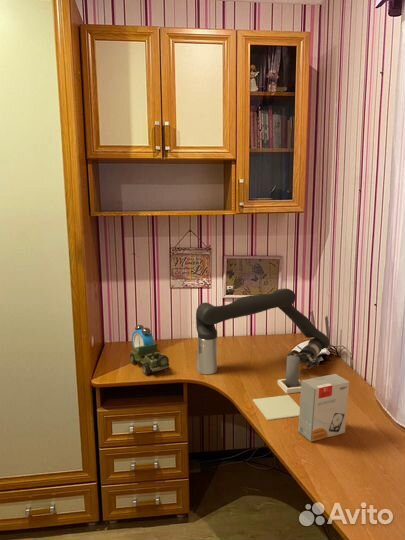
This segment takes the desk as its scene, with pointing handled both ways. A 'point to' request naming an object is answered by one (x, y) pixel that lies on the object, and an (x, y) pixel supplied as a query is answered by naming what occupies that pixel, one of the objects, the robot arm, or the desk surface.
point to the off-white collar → (289, 390)
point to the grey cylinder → (292, 371)
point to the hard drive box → (323, 407)
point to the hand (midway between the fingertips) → (298, 364)
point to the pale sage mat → (277, 407)
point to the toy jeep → (149, 358)
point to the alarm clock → (142, 336)
